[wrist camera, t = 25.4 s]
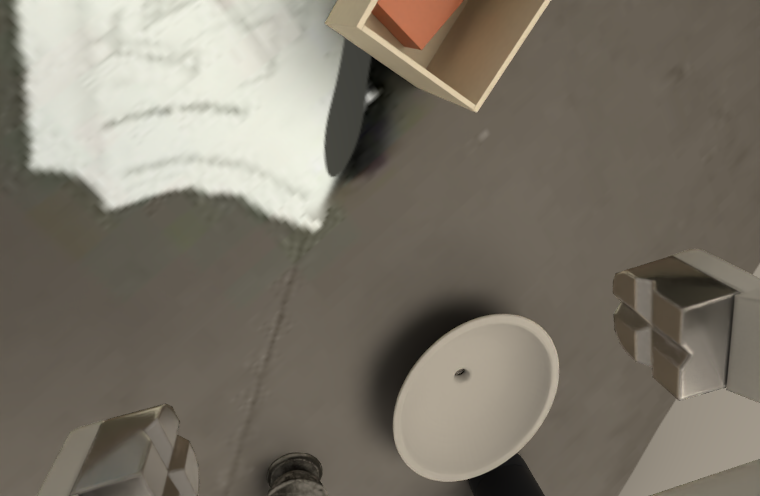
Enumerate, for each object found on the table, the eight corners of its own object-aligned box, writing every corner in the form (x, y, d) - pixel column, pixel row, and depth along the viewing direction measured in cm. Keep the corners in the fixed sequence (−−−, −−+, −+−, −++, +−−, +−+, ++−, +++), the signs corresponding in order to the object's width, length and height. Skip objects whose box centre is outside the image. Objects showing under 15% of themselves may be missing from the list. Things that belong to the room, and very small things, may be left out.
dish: (485, 452, 54) (505, 490, 49) (356, 431, 49) (365, 471, 45) (562, 307, 48) (592, 335, 44) (425, 269, 44) (442, 296, 40)
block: (363, 4, 35) (376, 2, 31) (402, -45, 34) (421, -52, 30) (404, 46, 36) (421, 50, 33) (442, 0, 36) (465, -1, 32)
